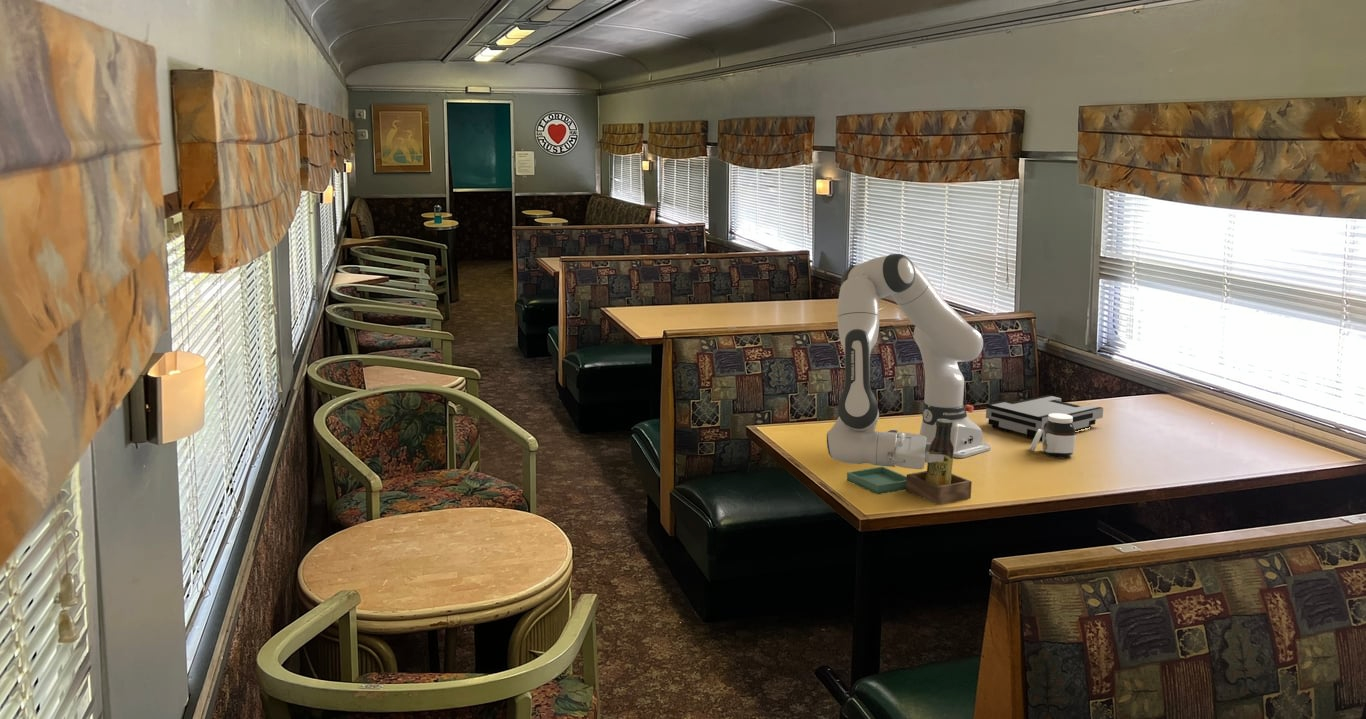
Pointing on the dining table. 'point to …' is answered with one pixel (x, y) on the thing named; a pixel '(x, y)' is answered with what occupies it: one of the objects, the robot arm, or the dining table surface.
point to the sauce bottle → (941, 444)
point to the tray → (878, 480)
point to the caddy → (938, 488)
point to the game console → (1038, 414)
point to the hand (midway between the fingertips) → (944, 453)
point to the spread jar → (1056, 436)
